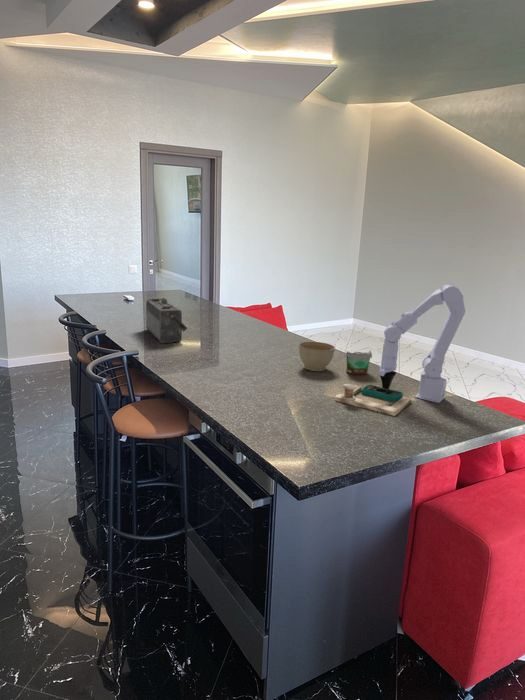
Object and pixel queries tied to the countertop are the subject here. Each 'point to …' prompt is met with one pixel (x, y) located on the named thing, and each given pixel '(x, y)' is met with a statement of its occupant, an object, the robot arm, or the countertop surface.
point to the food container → (358, 363)
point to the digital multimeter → (382, 393)
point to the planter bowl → (316, 355)
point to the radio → (164, 320)
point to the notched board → (350, 399)
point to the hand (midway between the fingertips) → (385, 389)
